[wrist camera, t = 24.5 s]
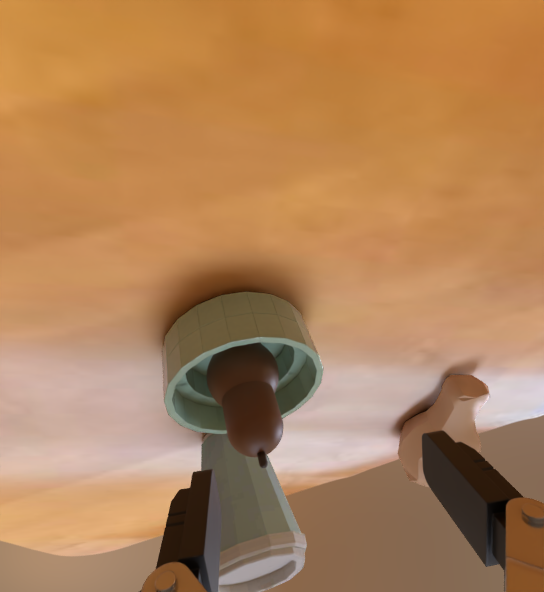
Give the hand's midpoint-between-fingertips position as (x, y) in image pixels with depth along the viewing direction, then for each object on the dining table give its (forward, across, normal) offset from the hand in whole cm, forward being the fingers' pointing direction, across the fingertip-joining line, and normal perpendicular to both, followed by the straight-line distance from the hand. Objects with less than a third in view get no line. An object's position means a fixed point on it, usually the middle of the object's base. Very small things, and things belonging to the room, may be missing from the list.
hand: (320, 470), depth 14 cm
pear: (+20, +4, +2) cm, 20 cm away
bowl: (+20, +4, +1) cm, 20 cm away
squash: (+36, -22, +22) cm, 48 cm away
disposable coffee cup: (+29, +6, +16) cm, 33 cm away
